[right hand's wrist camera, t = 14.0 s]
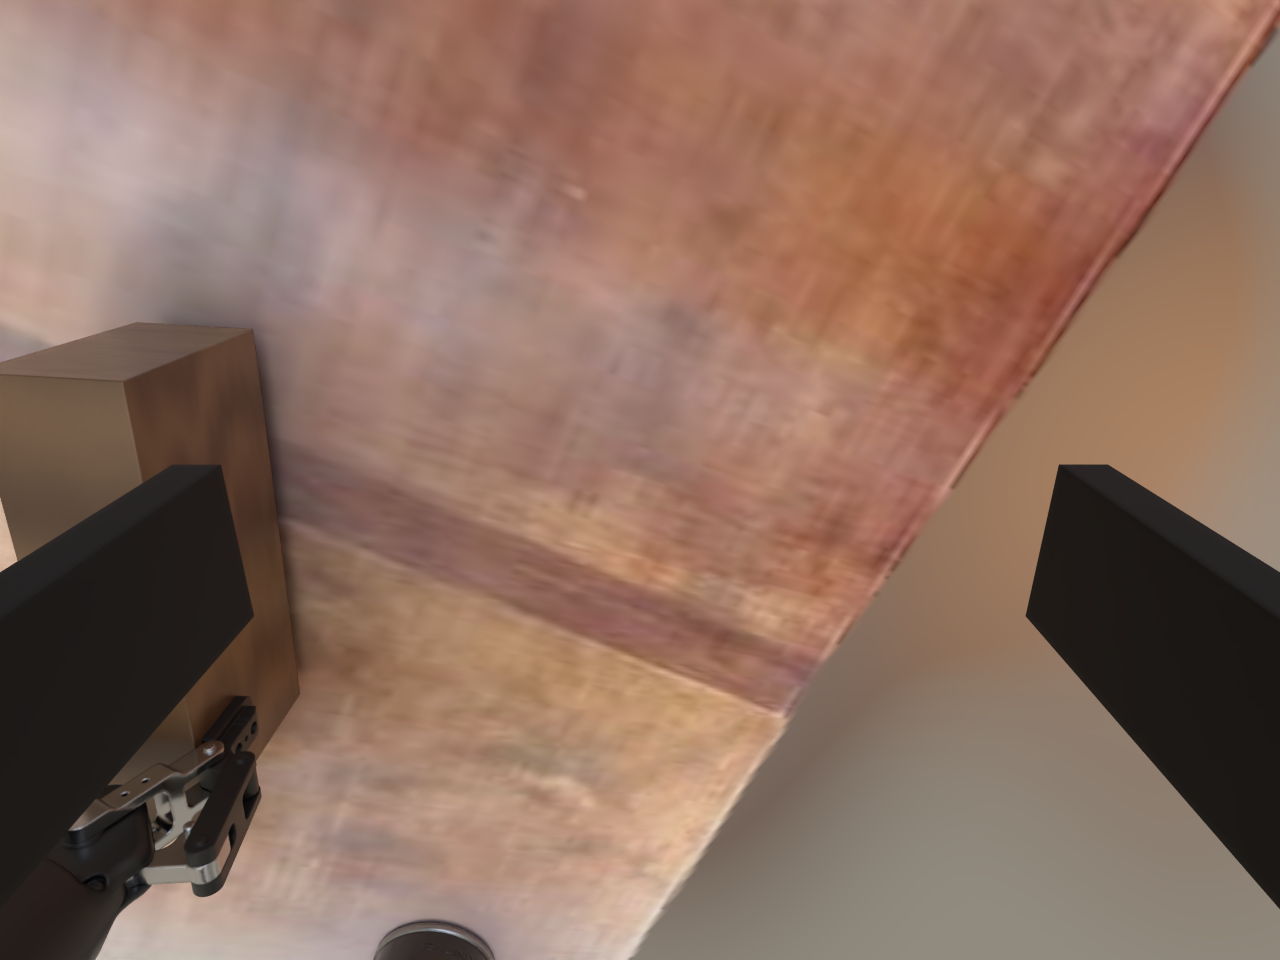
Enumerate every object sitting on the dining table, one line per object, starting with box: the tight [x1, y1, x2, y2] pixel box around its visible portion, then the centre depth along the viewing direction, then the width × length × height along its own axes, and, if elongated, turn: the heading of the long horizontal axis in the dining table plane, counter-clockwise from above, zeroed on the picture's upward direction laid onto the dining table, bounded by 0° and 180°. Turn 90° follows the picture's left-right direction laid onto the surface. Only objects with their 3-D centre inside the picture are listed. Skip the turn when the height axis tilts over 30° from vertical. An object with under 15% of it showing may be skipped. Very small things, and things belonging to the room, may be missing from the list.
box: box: [0, 322, 300, 823], centre depth 39 cm, size 23×6×11 cm, turn 177°
